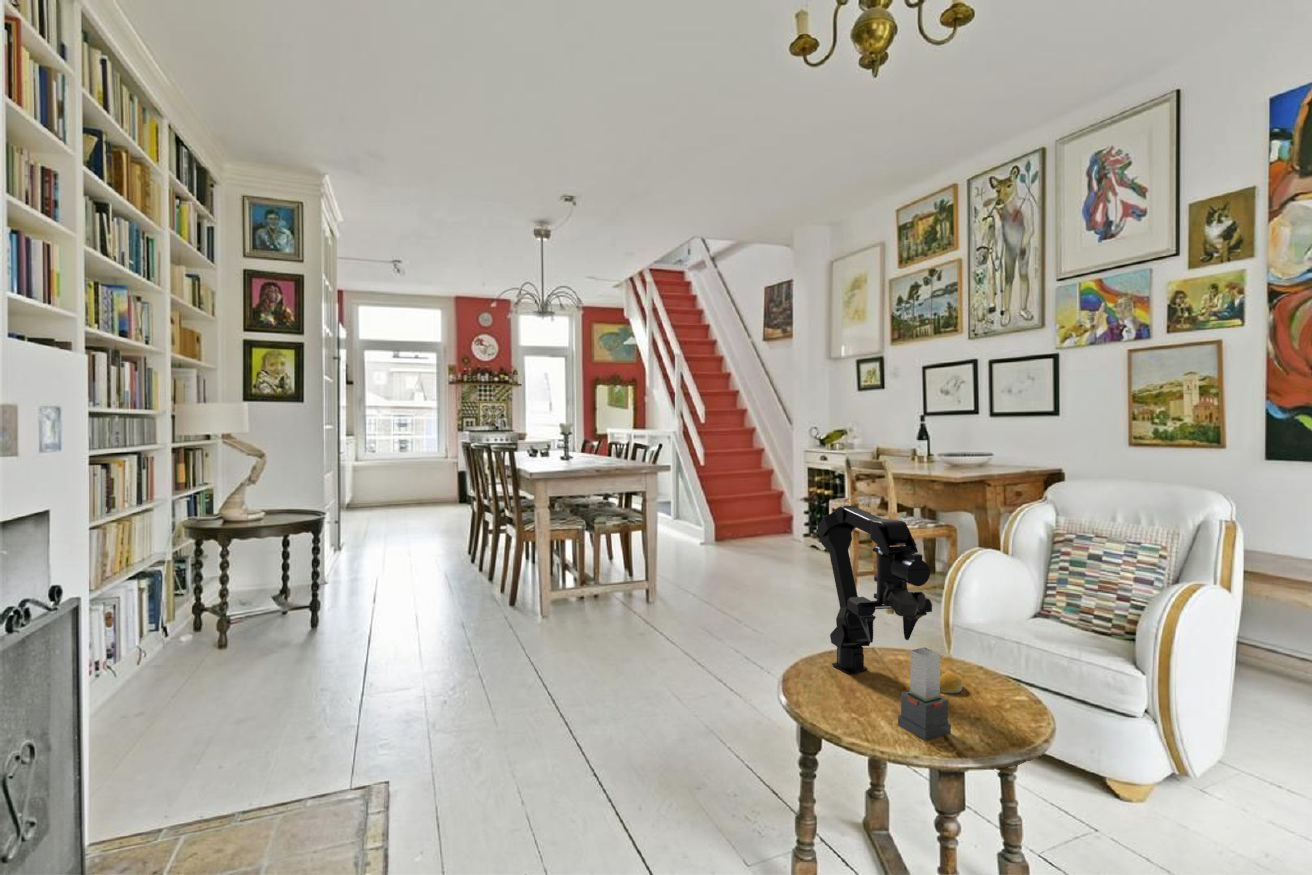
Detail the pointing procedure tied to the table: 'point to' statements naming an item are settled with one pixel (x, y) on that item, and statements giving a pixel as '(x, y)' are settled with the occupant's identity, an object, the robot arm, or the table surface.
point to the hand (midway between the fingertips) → (888, 640)
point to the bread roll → (949, 683)
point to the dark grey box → (924, 717)
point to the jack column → (925, 675)
